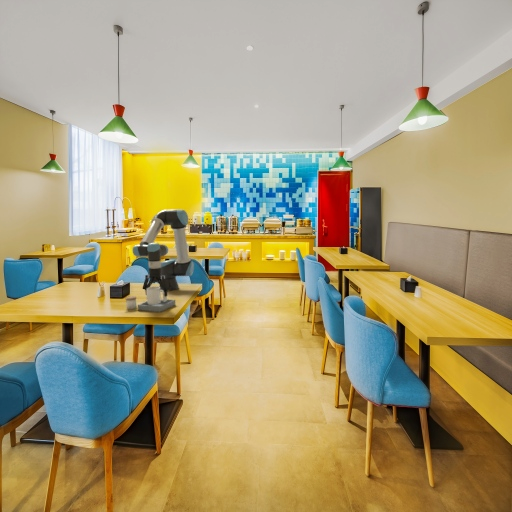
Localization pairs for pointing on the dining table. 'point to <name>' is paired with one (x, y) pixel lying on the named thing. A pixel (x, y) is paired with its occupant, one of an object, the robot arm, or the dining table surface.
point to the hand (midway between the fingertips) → (156, 300)
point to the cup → (154, 295)
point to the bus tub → (156, 306)
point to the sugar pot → (131, 302)
